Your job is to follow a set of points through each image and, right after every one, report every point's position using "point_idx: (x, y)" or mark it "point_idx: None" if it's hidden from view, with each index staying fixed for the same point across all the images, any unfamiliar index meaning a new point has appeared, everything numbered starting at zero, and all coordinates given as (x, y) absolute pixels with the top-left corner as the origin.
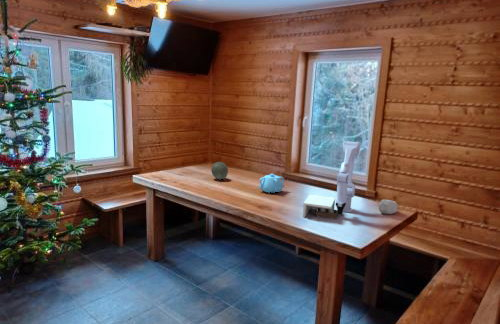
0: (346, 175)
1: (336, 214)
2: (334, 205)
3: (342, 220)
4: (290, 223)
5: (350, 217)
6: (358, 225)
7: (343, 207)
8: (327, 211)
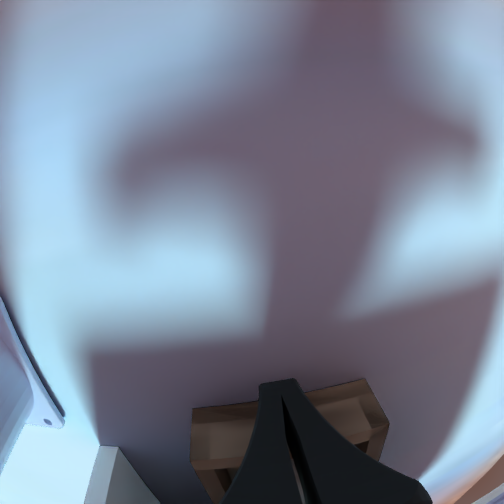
0: None
1: (386, 422)
2: (88, 500)
3: (391, 310)
4: (488, 465)
5: (181, 246)
6: (472, 87)
7: (391, 475)
8: None
